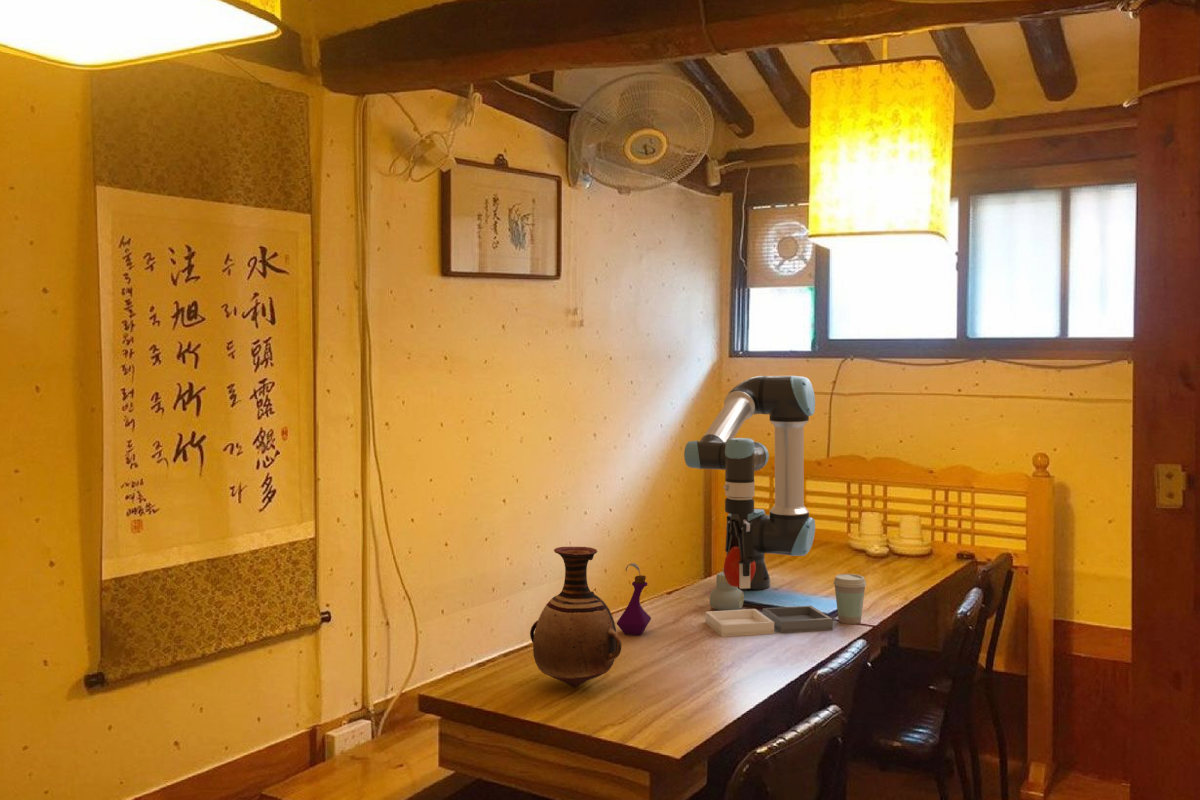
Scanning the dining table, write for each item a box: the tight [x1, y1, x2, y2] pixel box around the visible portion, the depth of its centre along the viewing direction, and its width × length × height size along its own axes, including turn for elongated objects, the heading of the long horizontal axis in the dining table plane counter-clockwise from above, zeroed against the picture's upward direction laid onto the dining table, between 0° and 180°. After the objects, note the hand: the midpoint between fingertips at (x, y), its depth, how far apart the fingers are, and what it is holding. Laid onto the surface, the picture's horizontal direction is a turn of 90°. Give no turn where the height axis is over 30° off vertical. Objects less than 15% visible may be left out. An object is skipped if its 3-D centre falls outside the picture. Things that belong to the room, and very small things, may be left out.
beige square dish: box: [704, 608, 775, 638], centre depth 269 cm, size 14×14×3 cm
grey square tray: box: [761, 605, 834, 634], centre depth 272 cm, size 14×14×3 cm
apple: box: [723, 547, 756, 587], centre depth 268 cm, size 8×8×11 cm
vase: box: [529, 546, 622, 688], centre depth 222 cm, size 21×18×30 cm
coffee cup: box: [833, 573, 867, 625], centre depth 275 cm, size 8×9×12 cm
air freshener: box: [709, 571, 745, 611], centre depth 288 cm, size 11×8×10 cm
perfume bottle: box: [616, 562, 652, 637], centre depth 264 cm, size 8×8×18 cm
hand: (739, 584), depth 268 cm, fingers closed on apple, 8 cm apart
